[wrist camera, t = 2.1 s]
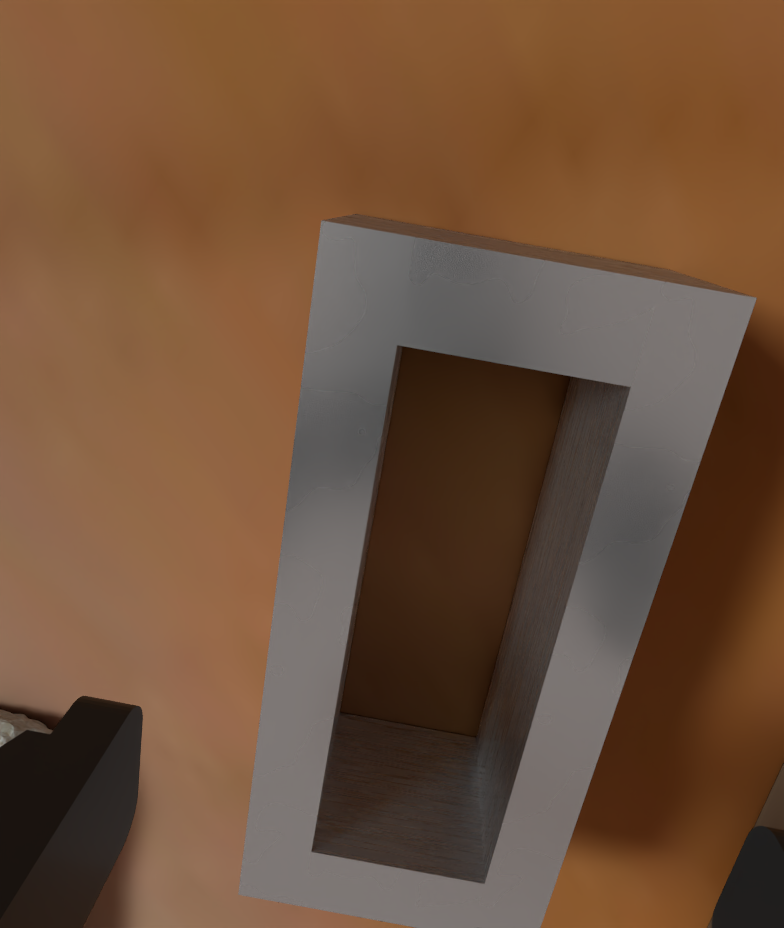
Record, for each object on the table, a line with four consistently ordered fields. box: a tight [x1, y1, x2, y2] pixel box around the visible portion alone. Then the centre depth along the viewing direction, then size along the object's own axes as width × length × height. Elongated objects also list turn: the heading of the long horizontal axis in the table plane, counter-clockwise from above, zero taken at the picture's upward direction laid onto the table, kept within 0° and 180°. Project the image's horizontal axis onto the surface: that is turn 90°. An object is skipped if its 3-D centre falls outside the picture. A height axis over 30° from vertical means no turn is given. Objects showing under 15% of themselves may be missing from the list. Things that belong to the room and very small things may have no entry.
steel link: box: [238, 214, 757, 928], centre depth 14 cm, size 13×6×4 cm, turn 170°
